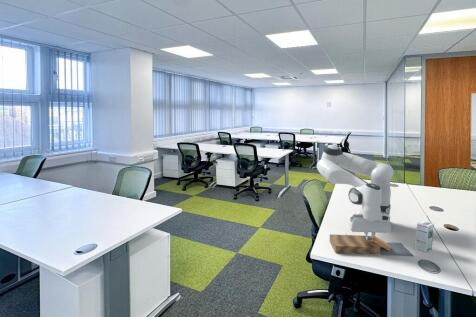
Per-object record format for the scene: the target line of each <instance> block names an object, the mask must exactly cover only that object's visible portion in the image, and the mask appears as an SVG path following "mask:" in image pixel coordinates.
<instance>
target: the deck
mask: <svg viewBox="0 0 476 317" xmlns="http://www.w3.org/2000/svg"><path fill="white" fill-rule="evenodd" d="M329 243H330V245H331V247H332V249H333V251H334V253H335V254H349V255H350V254H352V255H374V256H375V255H376V256H379V255H381V254H380V247H379V245H378V244H376V243H375V242H374V241H373V240H366V235H360V234H358V235H356V234H353V235H352V234H331V233H330V234H329Z"/></svg>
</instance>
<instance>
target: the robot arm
mask: <svg viewBox="0 0 476 317" xmlns="http://www.w3.org/2000/svg"><path fill="white" fill-rule="evenodd" d="M321 155H322V156H321V158H320V159H319V161H318V162H317V163H316V169H317V171H318V172H319V173H320V175H321V176H322V177H323V178H324V179H325V180H327V182H329V183H332V184H334V185H335V184H336V185H337V184H338V185H349V186H352V187H351V188H350V189H349V191H348V199H349V201H350V203H351V204H353V205H358V206H361V208H362V209H361V210H360V211H358V212H359V213H358V214H356V213H355V214H352V215H351V216H350V217H349V220H350V222H349V229H350V231H351V232H352V233H353V232H354V233H363V234H364V236H366V240H373V237H374V236H376V233H379V234H380V233H381V234H382V233H383V234H390V233H391V232H392V222H391V216H390V214H391V213H390V212H391V206H392V205H391V197H392V196H391V193H392V192H391V191H392V190H391V180H392V178H393V176H394V174H395V173H394V172H395V171H394V169H393V168H394V167H392V166H391V165H390V164H387V163H384V162H379V161H376V160H373V159H367V158H365V157H361V156H359V155H356V154H352V153H348V152H344V151H342V149H341V148H340V147H339V146H338V145H336V144H326V146H325V147H324V149H323V152H322V154H321ZM354 173H355V174H354ZM356 174H357V175H356ZM358 175H359V176H364V177H369V178H370V182H368V181H366V180H364V179H362V178H361V177H359V176H358ZM369 233H371V234H370V235H369Z"/></svg>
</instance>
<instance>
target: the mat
mask: <svg viewBox="0 0 476 317" xmlns="http://www.w3.org/2000/svg"><path fill="white" fill-rule="evenodd" d="M386 243H387V244H388V245H389V246H390V247H391V249H390V251H388V250H387V249H385V248H383V247H382V246H380V245H379V247H380V255H381V256H398V257H399V256H400V257H402V256H403V257H415V255H414V254H413V253H412V252H411V251H410V250H409V249H408V248H407V247H405V245H404V244H402V243H401V242H386Z"/></svg>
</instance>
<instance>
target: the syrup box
mask: <svg viewBox="0 0 476 317" xmlns="http://www.w3.org/2000/svg"><path fill="white" fill-rule="evenodd" d="M434 226H435V223H431V222H429V221H425V220H421V221H419V222H417V223H416V229H415V230H416V232H415V245H414V248H415V249H416V250H418V251H420V252H422V253H423V252H424V253H428V252H430V251H432V250H433V249H432V248H433V240H434V239H433V238H434Z"/></svg>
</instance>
